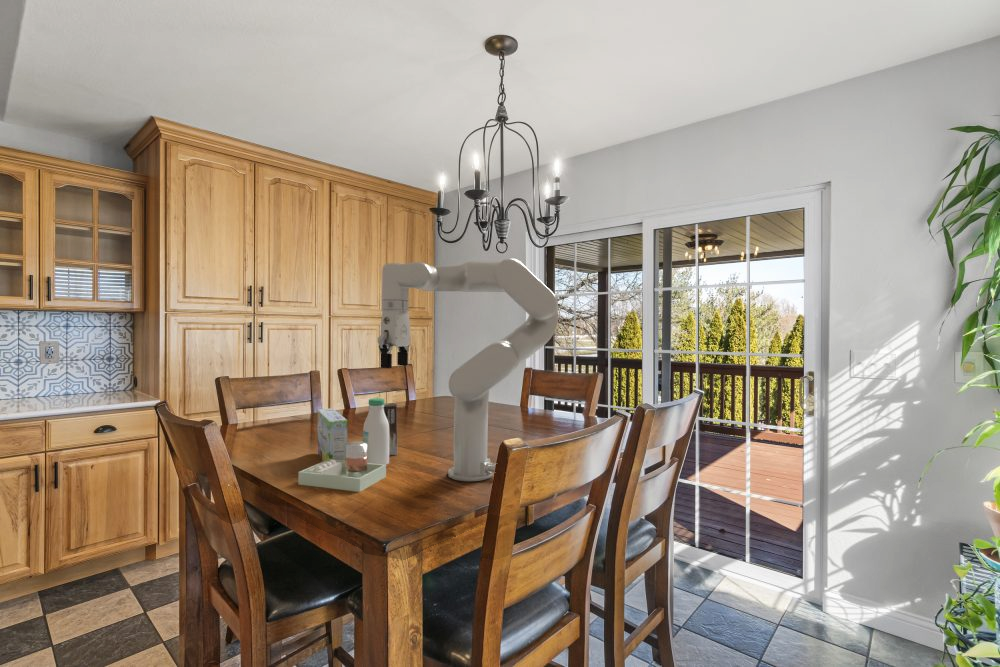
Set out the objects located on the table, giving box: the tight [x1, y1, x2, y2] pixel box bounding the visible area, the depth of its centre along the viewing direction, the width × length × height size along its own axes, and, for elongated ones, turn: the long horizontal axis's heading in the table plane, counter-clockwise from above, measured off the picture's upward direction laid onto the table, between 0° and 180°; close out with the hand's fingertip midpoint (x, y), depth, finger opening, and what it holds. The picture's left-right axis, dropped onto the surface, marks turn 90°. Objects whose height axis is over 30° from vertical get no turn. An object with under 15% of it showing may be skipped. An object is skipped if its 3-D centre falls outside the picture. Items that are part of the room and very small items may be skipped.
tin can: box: [346, 440, 368, 478], centre depth 130 cm, size 6×6×10 cm
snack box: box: [316, 407, 348, 462], centre depth 150 cm, size 21×6×15 cm, turn 30°
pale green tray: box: [297, 459, 387, 493], centre depth 131 cm, size 18×13×4 cm
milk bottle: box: [362, 397, 390, 466], centre depth 148 cm, size 8×8×20 cm
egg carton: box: [308, 460, 342, 476], centre depth 133 cm, size 4×9×4 cm, turn 164°
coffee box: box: [384, 402, 398, 456], centre depth 162 cm, size 9×6×16 cm
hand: (394, 366), depth 142 cm, fingers open, 9 cm apart
